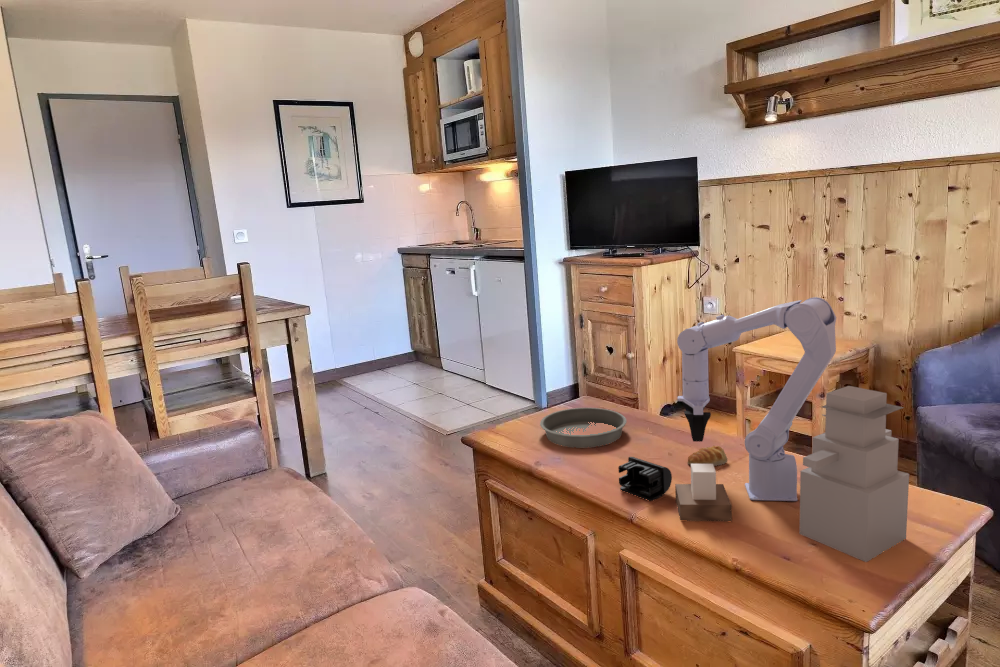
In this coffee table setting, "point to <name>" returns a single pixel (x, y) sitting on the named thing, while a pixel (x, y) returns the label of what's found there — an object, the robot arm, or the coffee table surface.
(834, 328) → the robot arm
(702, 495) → the white block
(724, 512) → the walnut base
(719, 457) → the pastry
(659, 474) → the end cap
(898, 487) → the three tier block tower
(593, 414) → the cake pan
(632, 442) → the coffee table surface
